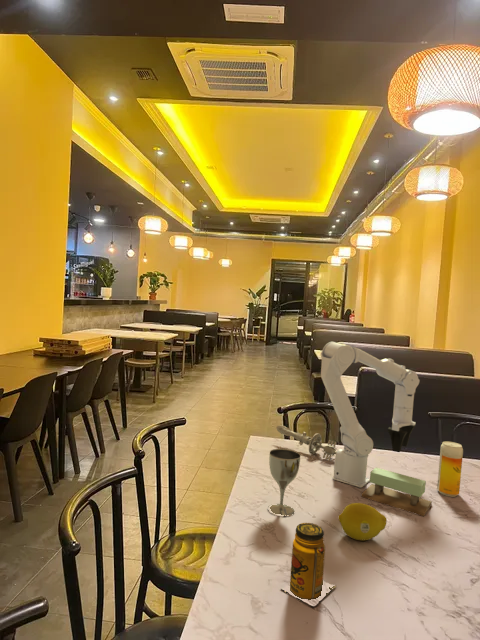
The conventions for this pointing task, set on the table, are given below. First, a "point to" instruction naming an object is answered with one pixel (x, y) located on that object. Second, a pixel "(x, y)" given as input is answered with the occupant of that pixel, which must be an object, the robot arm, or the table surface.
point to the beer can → (450, 468)
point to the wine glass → (283, 474)
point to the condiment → (307, 562)
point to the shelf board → (398, 482)
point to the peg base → (397, 499)
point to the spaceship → (310, 441)
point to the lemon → (361, 521)
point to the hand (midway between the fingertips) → (399, 448)
